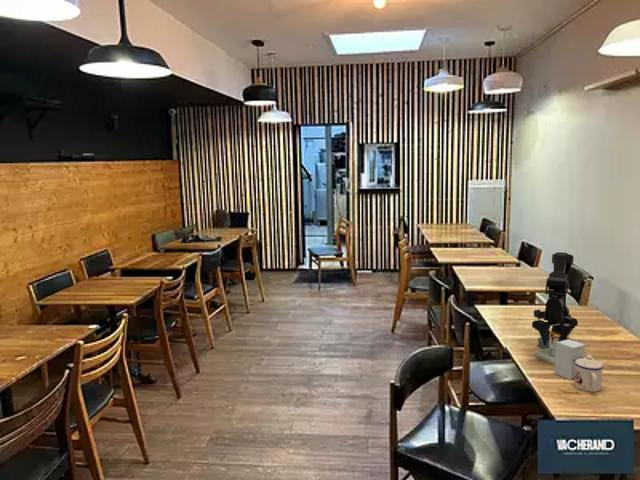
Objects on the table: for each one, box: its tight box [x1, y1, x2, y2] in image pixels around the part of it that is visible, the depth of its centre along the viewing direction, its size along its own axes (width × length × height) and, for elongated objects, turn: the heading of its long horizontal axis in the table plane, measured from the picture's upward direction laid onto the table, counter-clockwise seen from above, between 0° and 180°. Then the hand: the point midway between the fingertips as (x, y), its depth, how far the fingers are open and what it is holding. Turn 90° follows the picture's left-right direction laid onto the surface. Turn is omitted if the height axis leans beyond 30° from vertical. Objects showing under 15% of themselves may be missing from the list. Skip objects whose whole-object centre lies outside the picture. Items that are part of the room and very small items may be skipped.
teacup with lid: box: [573, 354, 604, 393], centre depth 182 cm, size 12×9×12 cm
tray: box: [534, 348, 555, 366], centre depth 211 cm, size 10×10×2 cm
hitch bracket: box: [537, 336, 561, 349], centre depth 222 cm, size 8×8×4 cm
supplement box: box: [553, 339, 586, 381], centre depth 194 cm, size 7×7×13 cm
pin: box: [549, 331, 561, 358], centre depth 210 cm, size 5×5×10 cm
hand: (553, 343), depth 210 cm, fingers open, 9 cm apart
